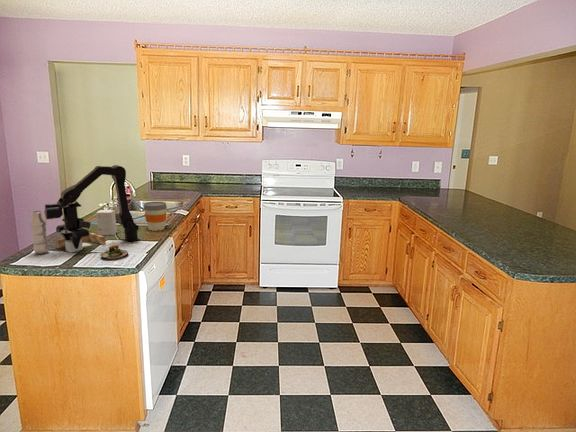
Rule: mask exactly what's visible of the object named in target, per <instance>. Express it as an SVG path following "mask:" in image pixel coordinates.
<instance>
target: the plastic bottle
mask: <svg viewBox="0 0 576 432" xmlns="http://www.w3.org/2000/svg"><path fill="white" fill-rule="evenodd" d="M46 220H47V219H46V218H45V217H43V213H42V211H41V210H34V211H32V218H31V220H30V223H29V224H30V228H31V232H32V235H33V249H32V250H33V251H34V252H35V254H39V255H41V254H46V253H48V252H49V251H50V244H49V240H48V237H47V221H46Z"/></svg>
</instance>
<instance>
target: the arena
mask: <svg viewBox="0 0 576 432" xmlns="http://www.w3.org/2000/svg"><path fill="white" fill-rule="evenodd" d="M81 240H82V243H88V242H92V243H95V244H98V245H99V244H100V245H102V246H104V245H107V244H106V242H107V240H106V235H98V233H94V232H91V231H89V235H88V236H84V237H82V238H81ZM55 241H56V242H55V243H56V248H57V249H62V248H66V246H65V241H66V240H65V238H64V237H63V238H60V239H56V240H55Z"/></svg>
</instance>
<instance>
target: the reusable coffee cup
mask: <svg viewBox="0 0 576 432" xmlns="http://www.w3.org/2000/svg"><path fill="white" fill-rule="evenodd" d="M143 210H144V218H145V222H146V223H147V224H146V225H147V230H148V231H151V230H152V232H154V231H155V232H157V231H158V230H159V231H163V230H165V226H166V220H167V203H166V202H164V201H151V202H150V201H148V202H144V203H143Z"/></svg>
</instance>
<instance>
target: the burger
mask: <svg viewBox="0 0 576 432" xmlns="http://www.w3.org/2000/svg"><path fill="white" fill-rule="evenodd" d="M126 255H127V256H129V252H128V250H125V249H124V250H123V249H120V247H119V245H118V244H117V243H114V242H113V240H112V244H110V245H108V250H105V251H103V252H101V253H100V259H101V260H103V259H109V260H113V259H119V258H123V257H125V256H126Z"/></svg>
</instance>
